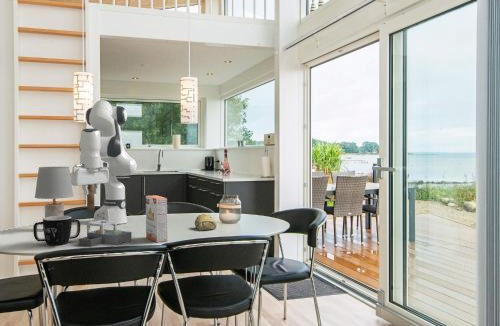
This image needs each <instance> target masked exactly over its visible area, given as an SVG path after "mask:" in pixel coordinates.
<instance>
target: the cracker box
mask: <svg viewBox="0 0 500 326" xmlns="http://www.w3.org/2000/svg"><path fill="white" fill-rule="evenodd" d="M145 233H146V234H145V237H146V238H147V239H149V240H151V241H153V242H155V243H156V244H157V243H163V242H168V198H167V197H164V196H161V195H145Z"/></svg>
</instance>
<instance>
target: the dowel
mask: <svg viewBox="0 0 500 326" xmlns="http://www.w3.org/2000/svg"><path fill="white" fill-rule="evenodd" d="M92 176H94V175H92ZM87 189H88V191H90V192H89V193H90V194H89V195H86V210H87V211H95V210H96V209H95V205H96V204H95V202H96V201H95V200H96V199H95V194H94V184H91V185H88V187H87Z"/></svg>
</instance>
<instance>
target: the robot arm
mask: <svg viewBox="0 0 500 326" xmlns="http://www.w3.org/2000/svg"><path fill="white" fill-rule="evenodd" d="M127 119H128V113H127V110H126V108H125V107H124V106H120V105H117V106H116V105H115V106H113V105H112V104H111V103H110V102H109V101H107V100H104V99H100V100H97V101H95V103H94V104H93V106H92V107H89V108H88V109H87V110H86V112H85V120H86V123H87V124H88V125H89V126H90V127H92V128H89V127H88V128H84V129H81V132H80V139H79V146H78V147H79V152H80V155H79V156H80V157H79V164H75V165H74V166H73V167H72V171H71V174H70V176H71V184H72V187H74V186H76V187H77V186H80V187H81V188H82V190H83V192H84V193H83V194H84V196H87V195H89V194H90V193H89V192H90V191H88V189H87V187H88V185H91V184H94V195H96V194H98V189H99V186H100V184H103V185H104V189H105V191H104V192H105V198H104V200H102V206H101V207H100V208H98V209H97V210H96V211H95V212H94V214H93V219H91V220H90V221H89V223H90V222H95V221H99V220H105V221H117V225H120V224H121V225H122V224H126V223H128V222H129V221H128V217H127V216H128V215H127V212H126V211H127V210H126V203H127V200H126V199H127V198H126V187H125V185H124V183H122V182H121V181H119V180H118V178H117V177H122V176H123V177H126V176H132V175H134V174H135V173H136V172H137V170H138V165H137V161H136V160H135V158H133V157H131V156H130V155H129V153H127V151H126V150H125V147H124V143H123V137H122V129H121V126H123V125H124V124H126V122H127ZM100 132H101V134H100ZM92 175H94V176H92Z"/></svg>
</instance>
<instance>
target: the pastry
mask: <svg viewBox="0 0 500 326" xmlns="http://www.w3.org/2000/svg"><path fill="white" fill-rule="evenodd" d="M194 227H195V228H196V230H198V231H199V232H200V231H210V230H215V229H216V228H217V222H216V221H215V220H214V217H213V216H212V215H208V214H204V213H202V214H200V215H198V216H196V219H195V220H194Z"/></svg>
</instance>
